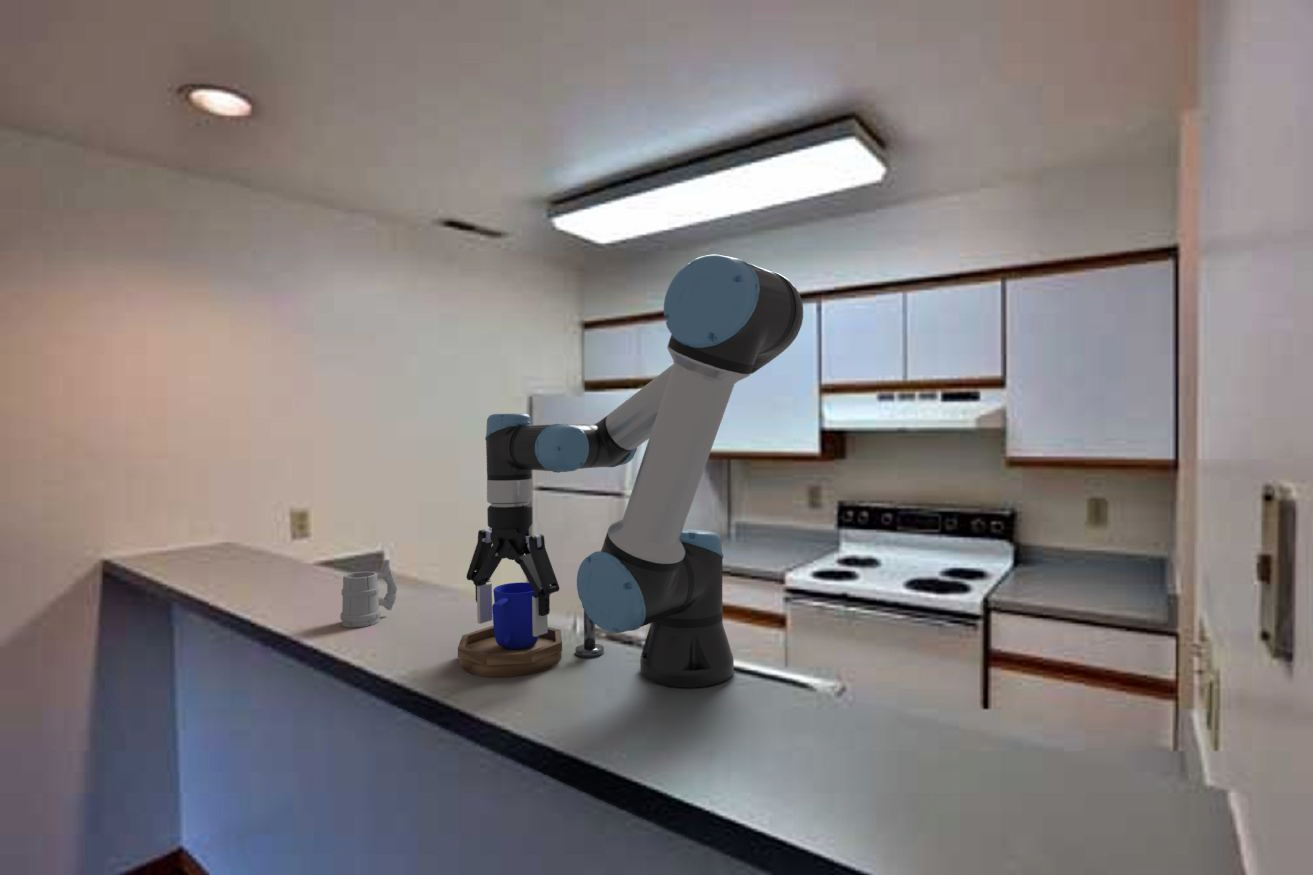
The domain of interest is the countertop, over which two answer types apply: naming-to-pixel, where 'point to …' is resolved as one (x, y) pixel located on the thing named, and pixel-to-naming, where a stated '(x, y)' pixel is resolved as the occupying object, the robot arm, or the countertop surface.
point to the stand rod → (589, 641)
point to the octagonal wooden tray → (507, 654)
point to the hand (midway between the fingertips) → (511, 627)
